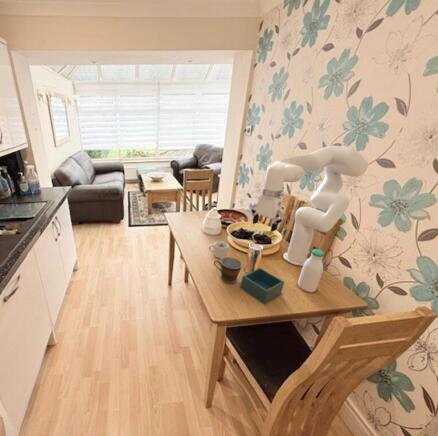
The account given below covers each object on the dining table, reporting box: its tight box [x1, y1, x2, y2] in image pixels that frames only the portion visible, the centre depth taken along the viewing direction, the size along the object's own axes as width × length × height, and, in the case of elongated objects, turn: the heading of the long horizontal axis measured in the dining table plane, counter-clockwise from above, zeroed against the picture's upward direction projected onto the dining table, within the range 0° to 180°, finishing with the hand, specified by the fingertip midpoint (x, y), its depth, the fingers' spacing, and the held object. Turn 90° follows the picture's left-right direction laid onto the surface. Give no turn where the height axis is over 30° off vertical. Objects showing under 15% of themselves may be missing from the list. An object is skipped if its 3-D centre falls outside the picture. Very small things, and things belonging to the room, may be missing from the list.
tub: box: [240, 267, 285, 305], centre depth 111 cm, size 13×13×7 cm
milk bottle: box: [297, 248, 325, 293], centre depth 110 cm, size 8×8×20 cm
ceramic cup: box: [213, 256, 243, 284], centre depth 118 cm, size 13×10×10 cm
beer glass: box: [244, 243, 264, 274], centre depth 123 cm, size 7×7×15 cm
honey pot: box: [201, 206, 223, 236], centre depth 166 cm, size 13×13×18 cm
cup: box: [208, 240, 230, 260], centre depth 138 cm, size 11×8×8 cm
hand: (263, 226), depth 115 cm, fingers open, 9 cm apart
